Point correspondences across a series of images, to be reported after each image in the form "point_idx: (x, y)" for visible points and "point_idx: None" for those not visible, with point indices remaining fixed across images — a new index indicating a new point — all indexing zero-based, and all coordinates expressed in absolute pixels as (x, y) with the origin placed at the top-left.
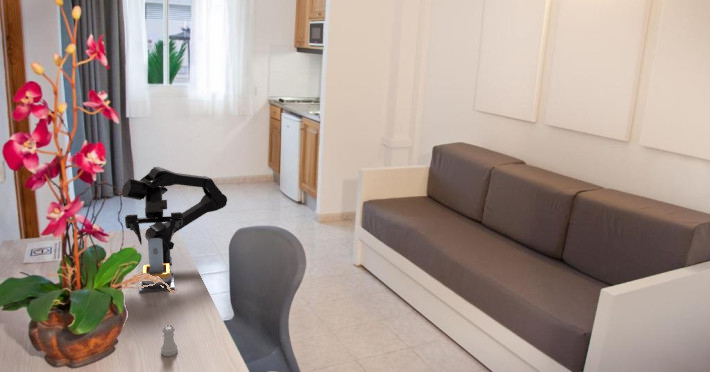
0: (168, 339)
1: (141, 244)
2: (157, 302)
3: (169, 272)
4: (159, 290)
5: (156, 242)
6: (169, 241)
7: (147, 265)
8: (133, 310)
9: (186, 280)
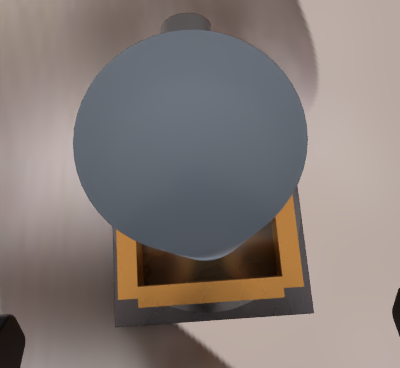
0: None
1: (393, 308)
2: None
3: None
4: None
5: (163, 55)
6: (6, 314)
7: (274, 286)
8: None
9: (49, 248)
